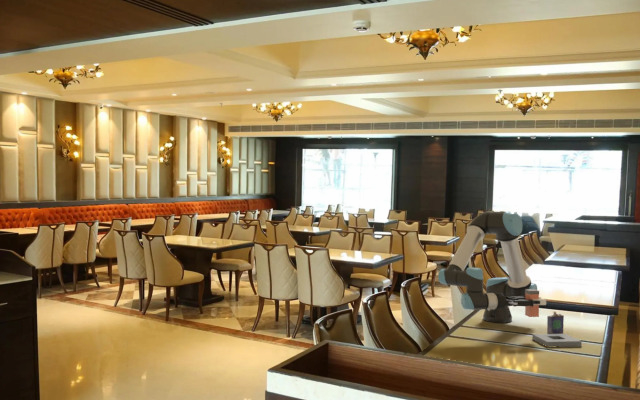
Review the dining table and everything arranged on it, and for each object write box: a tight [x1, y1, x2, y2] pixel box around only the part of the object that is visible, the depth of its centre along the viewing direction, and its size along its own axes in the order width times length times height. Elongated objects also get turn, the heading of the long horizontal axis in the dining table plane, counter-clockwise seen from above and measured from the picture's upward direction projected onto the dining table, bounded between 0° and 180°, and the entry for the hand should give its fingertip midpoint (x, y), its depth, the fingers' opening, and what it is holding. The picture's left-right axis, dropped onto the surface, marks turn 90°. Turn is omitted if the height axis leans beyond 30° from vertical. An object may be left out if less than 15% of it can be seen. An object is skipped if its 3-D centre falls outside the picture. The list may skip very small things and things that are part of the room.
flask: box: [546, 311, 565, 334], centre depth 274 cm, size 9×3×11 cm, turn 109°
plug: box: [524, 289, 540, 318], centre depth 262 cm, size 5×5×12 cm
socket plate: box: [532, 333, 583, 348], centre depth 256 cm, size 14×16×2 cm
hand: (543, 300), depth 262 cm, fingers closed on plug, 4 cm apart
